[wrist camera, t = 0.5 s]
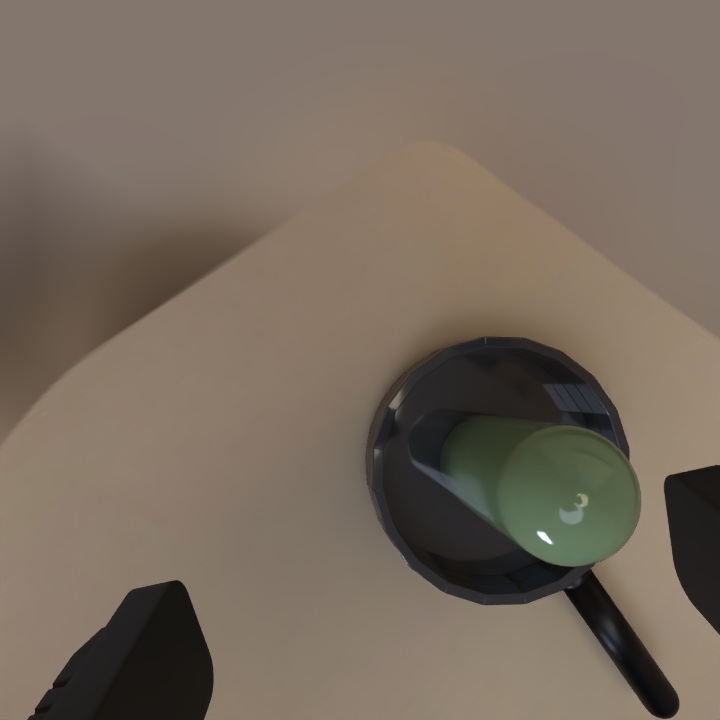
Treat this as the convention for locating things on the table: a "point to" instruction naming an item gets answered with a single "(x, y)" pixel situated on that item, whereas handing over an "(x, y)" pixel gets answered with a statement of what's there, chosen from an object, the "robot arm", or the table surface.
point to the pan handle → (623, 646)
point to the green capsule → (544, 486)
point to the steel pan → (423, 448)
